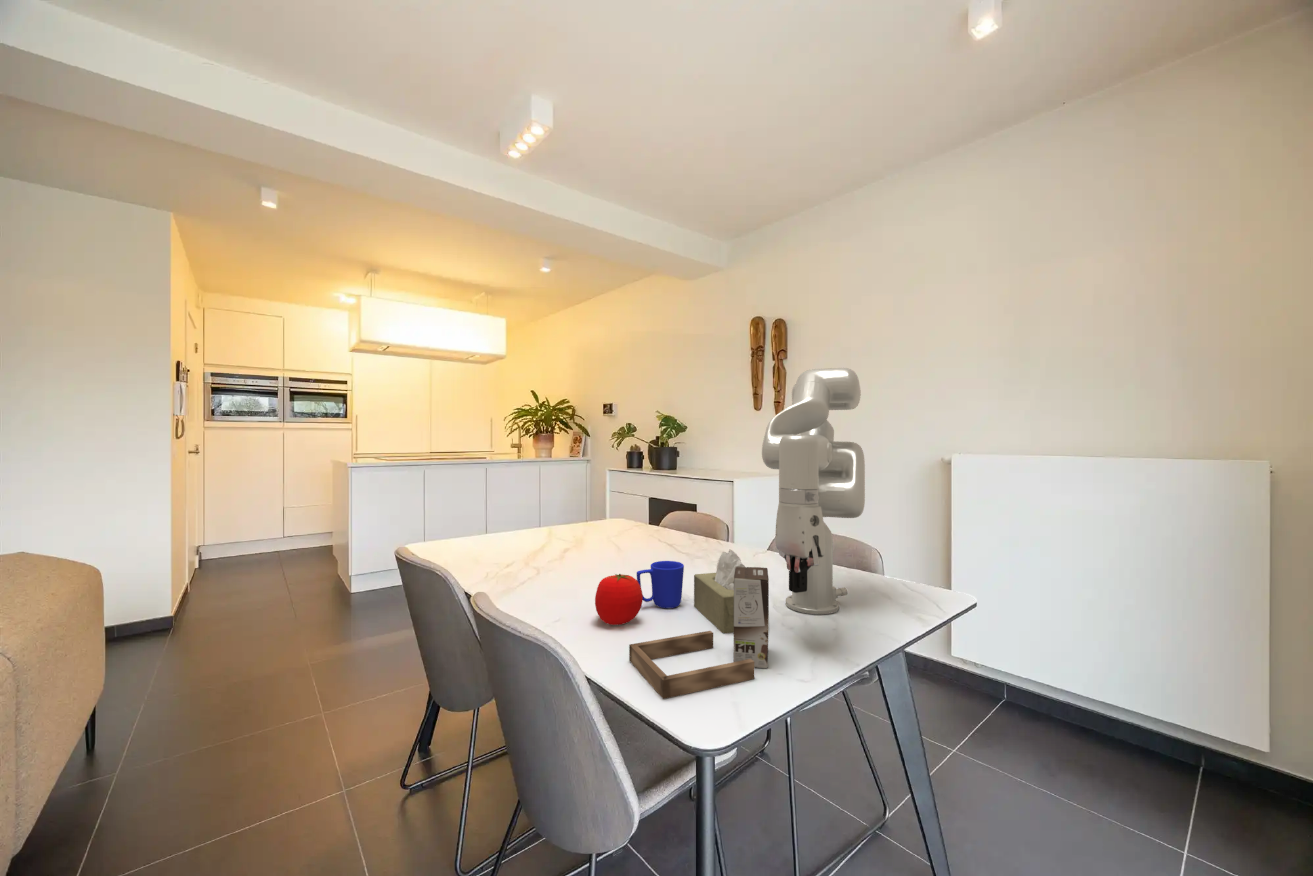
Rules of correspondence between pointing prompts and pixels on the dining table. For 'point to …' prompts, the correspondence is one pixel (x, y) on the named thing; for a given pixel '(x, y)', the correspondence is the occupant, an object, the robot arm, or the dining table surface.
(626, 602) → the tomato
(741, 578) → the coffee box
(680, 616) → the dining table surface
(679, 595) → the mug
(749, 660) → the u rest
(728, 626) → the tissue box
